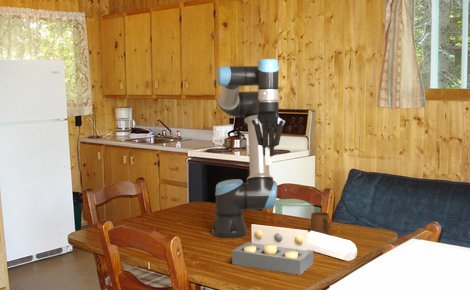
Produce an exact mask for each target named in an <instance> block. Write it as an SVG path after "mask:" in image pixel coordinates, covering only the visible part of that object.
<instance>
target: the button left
mask: <svg viewBox="0 0 470 290" xmlns="http://www.w3.org/2000/svg"><path fill="white" fill-rule="evenodd" d="M244 251H247V252H256V246H252V245H248V246H244Z"/></svg>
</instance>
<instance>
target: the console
mask: <svg viewBox="0 0 470 290" xmlns="http://www.w3.org/2000/svg"><path fill="white" fill-rule="evenodd" d="M308 233H309V230H304V229H296V228H288V227H281V226H271V225H261V224H254V223H252V224H251V241H247V242H245V243H244V244H241V245H240V246H238V247H236V248H234V249H233V250H232V251H231V261H232V262H231V264H232V265H235V266H241V267H248V268H252V269H259V270H260V269H261V270H266V271H271V270H272V271H273V272H278V271H279V272H280V273H284V272H285V273H286V274H290V273H291V275H296V274H298V275H297V276H301V275H302V274H303V273H305V272H306V271H307V270H309V268H310V267H312V266H313V265H314V251H313V250H309V249H308ZM267 244H274V245H276V246H277V254H276V255H268V254H264V245H267ZM248 245H252V246H256V252H247V251H244V246H248ZM287 251H295V252H298V258H289V257H285V252H287ZM304 271H305V272H304ZM285 273H284V274H285Z"/></svg>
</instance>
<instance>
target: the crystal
mask: <svg viewBox="0 0 470 290" xmlns="http://www.w3.org/2000/svg"><path fill="white" fill-rule="evenodd" d="M308 250H313V252H315V253H319V254H322V255H324V256H325V255H326V256H329V257H333V258H336V259H340V260H343V261H347V262H348V261H349V262H350V261H353V260H356V258H357V256H358V249H357V246H356V244H355V243H354V242H352V241H351V240H349V239H344V238H341V237H338V236H334V235H326V234H322V233H318V232H315V231H311V230H310V231H308Z"/></svg>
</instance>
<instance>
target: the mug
mask: <svg viewBox="0 0 470 290" xmlns="http://www.w3.org/2000/svg"><path fill="white" fill-rule="evenodd" d="M331 226H332V220H331V219H330V216H329V213H328V212H323V211H322V212H321V211H318V212H316V211H315V212H312V213H311V215H310V231H315V232H318V233H322V234H326V235H329V234H330V228H331Z"/></svg>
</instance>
